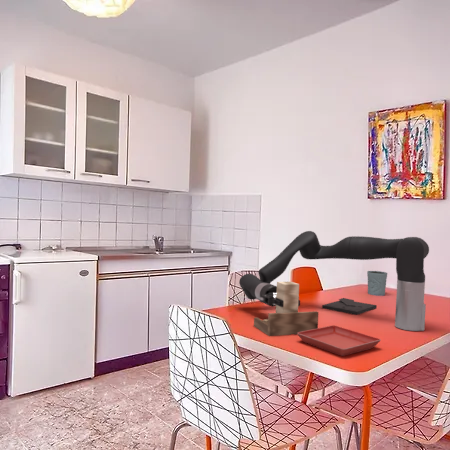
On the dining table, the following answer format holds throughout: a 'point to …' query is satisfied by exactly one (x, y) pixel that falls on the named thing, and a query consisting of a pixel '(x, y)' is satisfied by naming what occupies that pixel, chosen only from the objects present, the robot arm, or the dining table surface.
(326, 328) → the plant saucer
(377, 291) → the grey-blue cup
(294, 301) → the birch block
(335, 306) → the picture frame
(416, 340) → the dining table surface
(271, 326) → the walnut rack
